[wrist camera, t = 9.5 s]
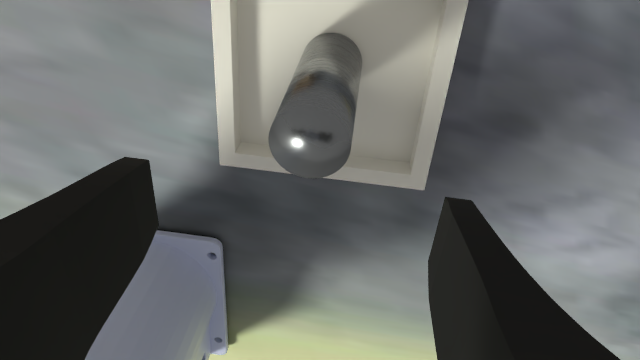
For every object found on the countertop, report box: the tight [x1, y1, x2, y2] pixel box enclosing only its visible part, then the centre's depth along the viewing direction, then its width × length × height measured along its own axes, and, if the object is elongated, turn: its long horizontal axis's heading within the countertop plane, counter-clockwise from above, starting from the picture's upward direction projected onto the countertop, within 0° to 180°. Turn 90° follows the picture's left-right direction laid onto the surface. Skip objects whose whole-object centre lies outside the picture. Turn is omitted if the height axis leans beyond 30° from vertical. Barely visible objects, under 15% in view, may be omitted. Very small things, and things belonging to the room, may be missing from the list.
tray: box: [211, 0, 469, 190], centre depth 19 cm, size 9×9×2 cm
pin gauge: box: [268, 33, 362, 179], centre depth 17 cm, size 2×2×6 cm
